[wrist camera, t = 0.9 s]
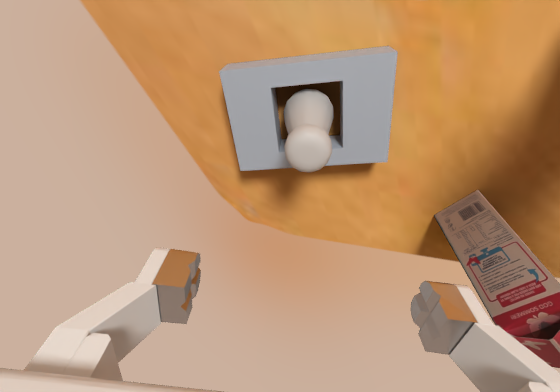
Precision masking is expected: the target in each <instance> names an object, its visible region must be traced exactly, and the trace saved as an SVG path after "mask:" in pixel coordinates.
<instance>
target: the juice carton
mask: <svg viewBox="0 0 560 392" xmlns="http://www.w3.org/2000/svg"><path fill="white" fill-rule="evenodd" d="M434 217H435V219H436V221H437V222H438V224H439V226H440V228H441V229H442V231H443V233H444V235H445V237H446V238H447V240H448V242H449V244H450V245H451V247H452V249H453V251H454V253H455V254H456V256H457V258H458V260H459V261H460V263H461V265H462V267H463V268H464V270H465V272H466V274H467V276H468V277H469V279H470V281H471V282H472V284H473V286H474V288H475V289H476V292H477V293H478V295H479V297H480V299H481V300H482V302H483V304H484V306H485V307H486V309H487V311H488V313H489V314H490V316H491V318H492V320H493V322H494V323H495V325H496V326H499V327H500V328H502V329H503V330H504V331H506V332H507V333H508V334H509V335H511V336H512V337H513V338H515V339H516V340H517V341H519V342H520V343H521V344H522V345H524V346H525V347H526V348H528V349H529V350H530V351H532V352H533V353H534V354H535V355H537V356H538V357H539V358H541V359H542V360H543V361H544V362H546V363H547V364H548V365H550V366H551V367H556V368H560V284H559V282H557V280H556V279H555V278H554V277H553V275H552V274H551V273H550V272H549V271H548V270H547V269H546V267H545V266H544V265H543V264H542V263H541V262H540V261H539V259H538V258H537V257H536V256H535V255H534V254H533V252H532V251H531V250H530V249H529V248H528V247H527V246H526V244H525V243H524V242H523V241H522V240H521V239H520V237H519V236H518V235H517V234H516V233H515V232H514V231H513V229H512V228H511V227H510V226H509V225H508V224H507V222H506V221H505V220H504V219H503V218H502V217H501V216H500V214H499V213H498V212H497V211H496V210H495V209H494V208H493V206H492V205H491V204H490V203H489V202H488V201H487V199H486V198H485V197H484V196H483V195H482V194H481V193H480V191H479V190H476V191H475V192H473V193H471V194H469V195H468V196H466V197H464V198H463V199H461V200H459V201H457V202H456V203H454V204H452V205H451V206H449V207H447V208H445V209H444V210H442V211H440V212H439V213H437V214H435V215H434Z"/></svg>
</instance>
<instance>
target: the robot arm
mask: <svg viewBox="0 0 560 392" xmlns="http://www.w3.org/2000/svg"><path fill="white" fill-rule="evenodd" d="M199 263H200V254H199V253H195V252H188V251H182V250H175V249H166V248H159V247H157V248H156V249H154V250H153V252H152V253H151V255H150V257H149V258H148V260H147V262H146V264H145V265H144V267H143V269H142V270H141V272H140V274H139V276H138V277H137V279H136V281H135V282H129V283H128V284H126V285H124V286H123V287H121V288H119V289H118V290H116V291H114V292H113V293H111V294H110V295H108V296H106V297H105V298H103V299H101V300H100V301H98V302H96V303H95V304H93V305H92V306H90V307H88V308H87V309H85V310H83V311H82V312H80V313H79V314H77V315H75V316H74V317H72V318H70V319H69V320H67V321H65V322H64V323H62V324H60V325H59V326H57V327H56V328H55V329H54V331H53V332H52V333H51V335H50V336H49V337H48V339H47V340H46V341H45V343H44V344H43V345H42V347H41V348H40V349H39V351H38V352H37V353H36V354H35V356H34V357H33V359H32V360H31V361H30V363H29V364H28V365H27V367H26V368H25V369H24V370H14V369H5V368H0V392H221V391H212V390H203V389H192V388H183V387H173V386H165V385H155V384H145V383H136V382H126V381H123V380H122V376H121V373H120V369H119V366H118V362H119V361H121V360H122V359H123V358H124V357H125V356H126V355H127V354H128V353H129V352H130V351H131V350H132V349H134V348H135V347H136V346H137V345H138V344H139V343H140V342H141V341H142V340H143V339H144V338H146V337H147V335H149V334H150V333H151V332H152V331H153V330H154V329H155V328H156V327H157V326H158V325H160V323H161V322H170V323H182V324H186V323H187V321H188V318H189V315H190V312H191V309H192V299H193V298H194V297H195V296H196V294H197V291H198V287H199V283H200V273H201V272H200V271H201V270H200V269H199V268H198V266H199ZM419 289H420V291H421V293H419V294H417V295H415V296H414V298H413V300H412V302H411V315H412V318H413V321H414V322H415V323H416V324H417V325H418V326H419V327H420V331H419V336H420V338H421V341H422V343H423V346H424V349H425V351H427V352H435V353H441V354H448V355H449V356H450V358H451V359H452V360H453V361H454V362H455V363H456V364H457V366H458V367H459V368H460V369H461V370H462V371H463V372H464V373H465V374H466V376H467V377H468V378H469V379H470V380H471V381H472V382H473V383H474V385H475V386H476V387H477V388H478V389H479V390H480V392H560V373H559V372H557V371H556V370H555V369H554V368H552V367H551V366H550V365H548V364H547V363H546V362H544V361H543V360H542V359H541V358H539V357H538V356H537V355H535V354H534V353H533V352H532V351H530V350H529V349H528V348H526V347H525V346H524V345H522V344H521V343H520V342H519V341H517V340H516V339H515V338H513V337H512V336H511V335H509V334H508V333H507V332H506V331H504V330H503V329H502V328H500V327H499V326H496V325H493V323H492V322H491V320H490V318H489V317H488V315H487V314H486V312H485V310H484V309H483V307H482V306H481V304H480V303H479V301H478V300H477V298H476V296H475V295H474V293H473V292H472V290H471V289H470V288H469V287H468V286H466V285H457V284H448V283H439V282H430V281H424V282H423V283H422V284H421V286H420V287H419Z"/></svg>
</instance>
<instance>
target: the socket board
mask: <svg viewBox="0 0 560 392" xmlns="http://www.w3.org/2000/svg"><path fill="white" fill-rule="evenodd" d="M396 63H397V51H396V50H394V49H393V48H391V47H389V46H384V47H375V48H366V49H357V50H348V51H339V52H330V53H321V54H312V55H303V56H295V57H286V58H277V59H268V60H259V61H250V62H241V63H232V64H227V65H226V66H225V67H224V68H222V69H221V70H220V71H219V73H220V77H221V82H222V87H223V91H224V96H225V101H226V105H227V110H228V115H229V119H230V124H231V129H232V133H233V138H234V143H235V147H236V152H237V157H238V161H239V166H240V171H249V170H265V169H281V168H293V167H292V166H291V165H290V163H289V162H288V161H287V159H286V155H285V147H284V146H285V143H286V140H287V139H281V130H280V122H279V114H278V105H277V97H276V89H275V87H284V86H294V85H304V84H314V83H324V82H334V81H340V135H332V136H329V137H330V139H331V142H332V154H331V157H330V159H329V161H328V163H327V164H326V165H325V166H329V165H345V164H361V163H378V162H387V160H388V150H389V139H390V128H391V117H392V106H393V95H394V84H395V74H396Z"/></svg>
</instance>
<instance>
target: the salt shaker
mask: <svg viewBox="0 0 560 392" xmlns="http://www.w3.org/2000/svg"><path fill="white" fill-rule="evenodd" d="M333 118H334V115H333V105H332V104H331V102H330V100H329V98H328V96H326V95H325V94H323V93H322V92H320V91H318V90H314V89H307V88H306V89H304V90H301V91H299V92H296V93H295V94H294V95H293V96H292V97H291V98H290V99H289V100H288V101H287V103H286V106H285V109H284V120H285V125H286V128H287V131H288V137H287V140H286V143H285V146H284V147H285V155H286V159H287V161H288V162H289V163H290V165H291V166H292V167H293V168H295V169H297V170H299V171H300V172H314V171H317V170H320V169H321V168H323V167H324V166H325V165H326V164H327V163H328V161H329V159H330V157H331V154H332V142H331V139H330V137H329V135H328V134H329V130H330V127H331V124H332V121H333Z"/></svg>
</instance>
